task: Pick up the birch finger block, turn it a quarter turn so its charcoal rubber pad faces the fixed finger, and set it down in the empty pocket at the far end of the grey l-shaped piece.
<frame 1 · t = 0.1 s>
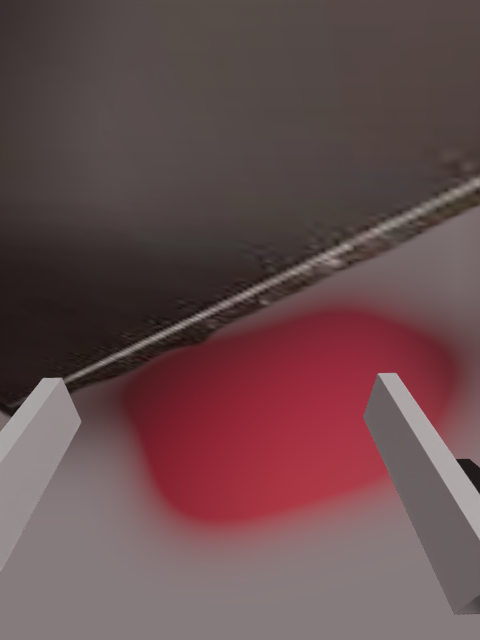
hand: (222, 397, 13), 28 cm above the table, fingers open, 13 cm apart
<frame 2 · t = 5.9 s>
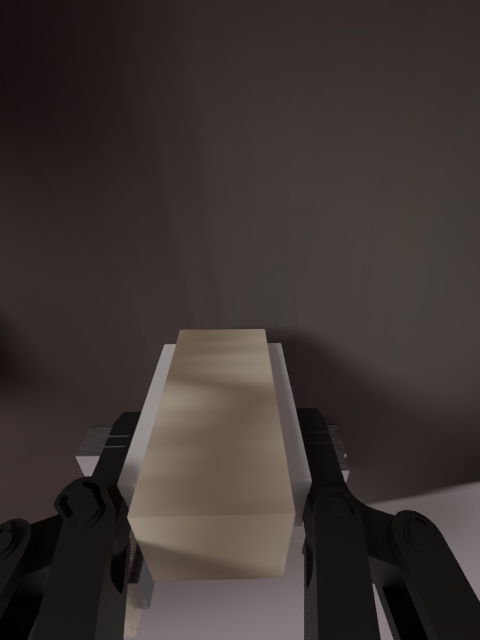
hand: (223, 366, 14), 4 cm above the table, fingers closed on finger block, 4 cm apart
finger block: (223, 362, 15), point 4 cm above the table, touching gripper
grey l-shaped piece: (214, 438, 23), on the table
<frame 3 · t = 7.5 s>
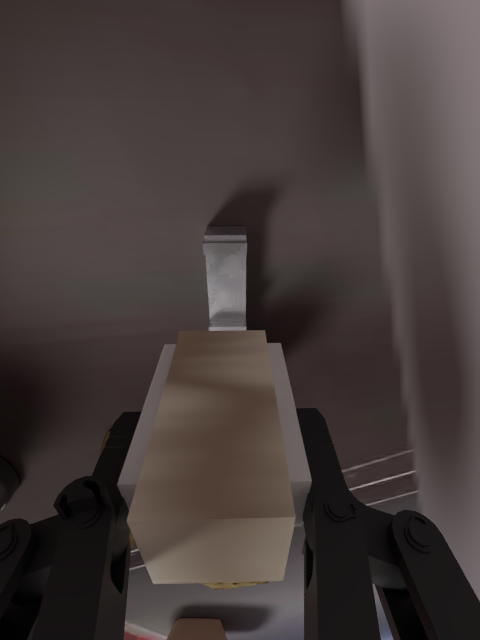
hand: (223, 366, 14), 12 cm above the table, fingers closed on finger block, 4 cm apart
pastry: (231, 565, 60), on the table
finger block: (223, 363, 15), point 12 cm above the table, touching gripper
grey l-shaped piece: (228, 327, 28), on the table
bowl: (197, 623, 79), on the table
when the fingers open (3 cm above the table, at t = 9.3 s): finger block stays where it is, resting on grey l-shaped piece.
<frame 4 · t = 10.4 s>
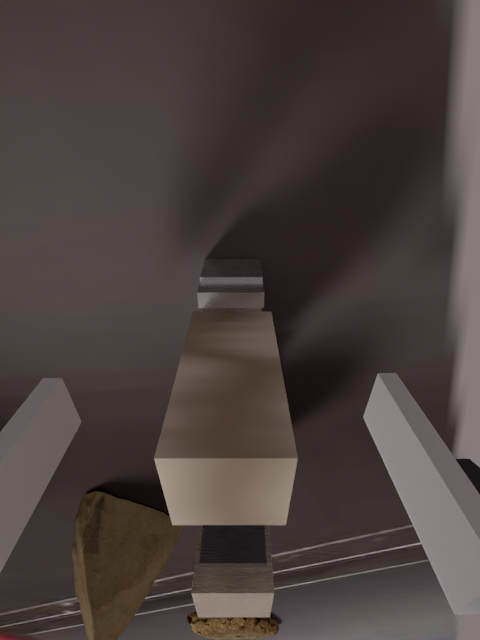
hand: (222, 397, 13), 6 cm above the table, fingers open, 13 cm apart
pastry: (233, 614, 53), on the table
finger block: (232, 342, 16), point 2 cm above the table, touching grey l-shaped piece
grey l-shaped piece: (234, 384, 21), on the table
rock: (135, 506, 31), on the table
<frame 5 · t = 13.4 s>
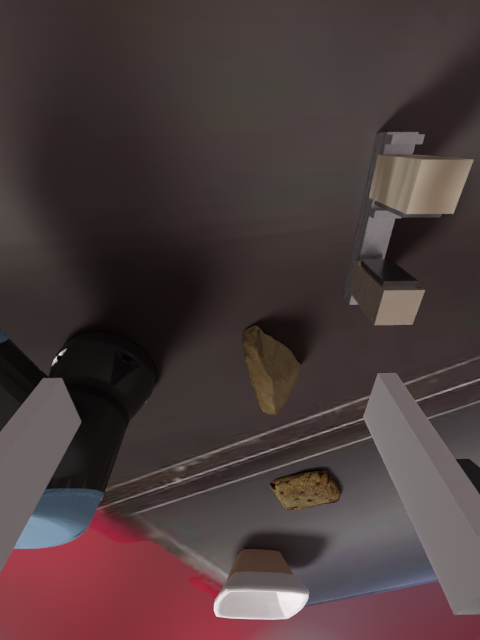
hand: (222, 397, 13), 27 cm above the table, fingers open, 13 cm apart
pastry: (304, 486, 67), on the table
finger block: (392, 176, 30), point 2 cm above the table, touching grey l-shaped piece
grey l-shaped piece: (370, 225, 35), on the table
rock: (271, 347, 45), on the table
bowl: (257, 556, 87), on the table
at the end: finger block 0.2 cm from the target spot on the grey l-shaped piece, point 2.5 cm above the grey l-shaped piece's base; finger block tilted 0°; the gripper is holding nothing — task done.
